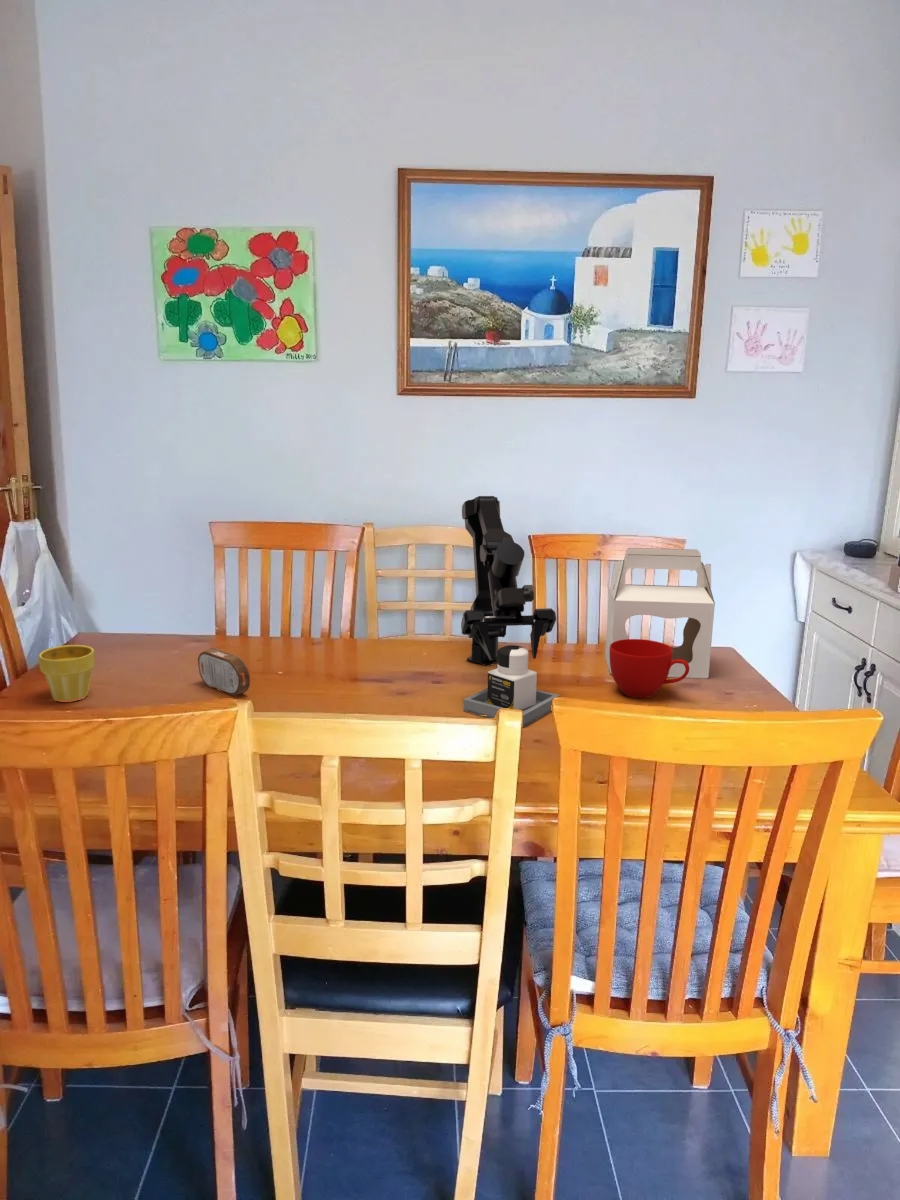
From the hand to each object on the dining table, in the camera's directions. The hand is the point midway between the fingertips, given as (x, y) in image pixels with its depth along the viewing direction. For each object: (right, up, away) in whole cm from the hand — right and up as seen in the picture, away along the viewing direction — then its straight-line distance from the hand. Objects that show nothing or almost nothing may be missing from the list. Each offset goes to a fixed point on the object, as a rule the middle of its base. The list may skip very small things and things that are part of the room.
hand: (513, 658), depth 175 cm
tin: (-60, -8, +11) cm, 62 cm away
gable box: (+35, -4, +29) cm, 46 cm away
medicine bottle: (0, -10, +3) cm, 10 cm away
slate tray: (0, -10, +2) cm, 11 cm away
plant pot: (-90, -9, +6) cm, 91 cm away
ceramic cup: (+29, -8, +12) cm, 33 cm away
